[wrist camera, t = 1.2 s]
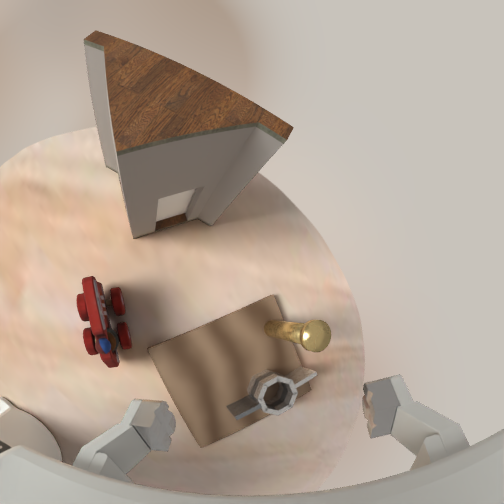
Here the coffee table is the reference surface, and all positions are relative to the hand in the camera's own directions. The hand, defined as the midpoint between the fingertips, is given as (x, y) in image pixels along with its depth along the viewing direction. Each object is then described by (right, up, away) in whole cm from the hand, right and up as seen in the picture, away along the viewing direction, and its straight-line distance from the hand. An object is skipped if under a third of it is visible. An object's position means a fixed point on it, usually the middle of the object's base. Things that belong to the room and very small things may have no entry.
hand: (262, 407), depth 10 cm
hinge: (+2, -16, +34) cm, 38 cm away
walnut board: (-3, -14, +34) cm, 37 cm away
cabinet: (-17, +13, +34) cm, 40 cm away
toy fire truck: (-23, -4, +29) cm, 37 cm away
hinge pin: (+3, -6, +37) cm, 37 cm away
